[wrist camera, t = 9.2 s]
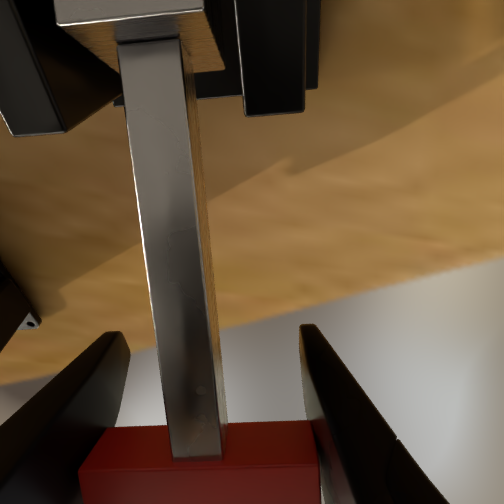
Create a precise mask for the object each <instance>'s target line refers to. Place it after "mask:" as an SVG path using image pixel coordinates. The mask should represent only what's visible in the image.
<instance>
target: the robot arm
mask: <svg viewBox="0 0 504 504" xmlns="http://www.w3.org/2000/svg"><path fill="white" fill-rule="evenodd" d="M41 323H42V320H41V318H40V317H39V315H38V314H37V312H36V311H35V309H34V308H33V307H32V305H31V304H30V302H29V301H28V299H27V298H26V297H25V295H24V294H23V292H22V291H21V289H20V288H19V287H18V285H17V284H16V282H15V281H14V279H13V278H12V277H11V275H10V274H9V272H8V271H7V269H6V268H5V267H4V265H3V264H2V262H1V261H0V353H1V351H2V350H3V348H4V347H5V346H6V344H7V343H8V342H9V340H10V339H11V337H12V336H13V335H14V333H15V332H16V331H17V330H25V329H37V328H38V327H39V326H40V324H41ZM299 353H300V363H301V374H302V385H303V396H304V404H305V411H306V416H307V420H309V421H310V423H311V426H312V429H313V433H314V437H315V442H316V447H317V453H318V458H319V463H320V480H321V486H322V491H323V496H324V501H325V504H450V503H449V502H448V501H447V500H446V499H445V498H444V496H443V495H442V494H441V493H440V492H439V490H438V489H437V488H436V487H435V486H434V485H433V483H432V482H431V481H430V480H429V478H428V477H427V476H426V474H425V473H424V472H423V471H422V469H421V468H420V467H419V465H418V464H417V463H416V461H415V460H414V459H413V458H412V456H411V455H410V453H409V452H408V451H407V449H406V448H405V447H404V445H403V444H402V442H401V441H400V440H399V439H397V436H396V435H395V433H394V432H393V430H392V429H391V428H390V426H389V425H388V424H387V422H386V421H385V419H384V418H383V417H382V415H381V414H380V413H379V411H378V410H377V408H376V407H375V406H374V404H373V403H372V401H371V400H370V399H369V397H368V396H367V395H366V393H365V392H364V390H363V389H362V388H361V386H360V385H359V384H358V383H357V381H356V379H355V378H354V377H353V375H352V374H351V373H350V371H349V370H348V368H347V367H346V366H345V364H344V363H343V362H342V360H341V359H340V357H339V356H338V355H337V353H336V352H335V351H334V350H333V348H332V346H331V345H330V344H329V343H328V341H327V340H326V338H325V337H324V336H323V334H322V333H321V332H320V330H319V329H318V327H317V326H316V325H315V324H301V325H300V327H299ZM129 362H130V349H129V347H128V344H127V342H126V340H125V338H124V335H123V333H122V332H120V331H108V332H105V333H104V334H102V335H101V336H100V337H99V338H98V339H97V340H96V341H95V342H93V343H92V344H91V345H90V346H89V347H88V348H87V349H86V350H84V351H83V352H82V353H81V354H80V355H79V356H78V357H77V358H76V359H74V360H73V361H72V362H71V363H70V364H69V365H68V366H67V367H66V368H64V369H63V370H62V371H61V372H60V373H59V374H58V375H57V376H55V377H54V378H53V379H52V380H51V381H50V382H49V383H48V384H47V385H45V386H44V387H43V388H42V389H41V390H40V391H39V392H38V393H37V394H36V395H34V396H33V397H32V398H31V399H30V400H29V401H28V402H27V403H25V404H24V405H23V406H22V407H21V408H20V409H19V410H18V411H17V412H15V413H14V414H13V415H12V416H11V417H10V418H9V419H8V420H6V421H5V422H4V423H3V424H2V425H1V426H0V504H84V503H83V498H82V493H81V488H80V483H79V478H78V469H79V468H80V466H81V465H82V463H83V462H84V460H85V459H86V458H87V456H88V455H89V453H90V452H91V450H92V449H93V447H94V446H95V444H96V443H97V441H98V440H99V438H100V437H101V435H102V434H103V432H104V431H105V430H106V429H107V428H108V427H115V424H116V420H117V417H118V413H119V410H120V405H121V401H122V395H123V391H124V386H125V381H126V377H127V372H128V367H129ZM396 439H397V440H396Z"/></svg>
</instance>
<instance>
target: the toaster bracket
mask: <svg viewBox="0 0 504 504" xmlns="http://www.w3.org/2000/svg"><path fill="white" fill-rule="evenodd" d="M220 4H221V16H222V29H223V41H224V53H225V66H226V67H225V69H224V70H217V71H207V72H196V73H194V79H195V89H196V100H201V99H212V98H223V97H234V96H242V97H243V108H244V115H245V117H248V118H249V117H260V116H272V115H283V114H295V113H302V112H304V110H305V90H311V89H317V88H318V70H319V40H320V10H321V0H220ZM111 102H113V105H114V107H124V102H123V95H122V88H121V80H120V75H119V74H118V73H117V72H116V71H114V70H113V69H112V68H111V67H109V66H108V65H107V64H105V63H104V62H103V61H102V60H100V59H99V58H98V57H97V56H95V55H94V54H93V53H92V52H90V51H89V50H88V49H86V48H85V47H84V46H83V45H81V44H80V43H79V42H78V41H76V40H75V39H74V38H73V37H71V36H70V35H69V34H67V33H66V32H65V31H64V30H62V29H61V28H60V27H59V26H58V25H57V23H56V21H55V15H54V9H53V2H52V0H0V114H1V116H2V118H3V120H4V122H5V124H6V126H7V128H8V130H9V132H10V133H11V135H12V136H13V137H28V136H40V135H51V134H63V133H67V132H68V131H70V130H71V129H73V128H74V127H76V126H77V125H78V124H80V123H81V122H83V121H84V120H86V119H87V118H89V117H90V116H92V115H93V114H94V113H96V112H97V111H99V110H100V109H102V108H103V107H105V106H106V105H108V104H109V103H111Z"/></svg>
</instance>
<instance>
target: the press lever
mask: <svg viewBox="0 0 504 504" xmlns="http://www.w3.org/2000/svg"><path fill="white" fill-rule="evenodd" d="M52 2H53V9H54V15H55V21H56V23H57V25H58V26H59V27H60V28H61V29H62V30H64V31H65V32H66V33H67V34H69V35H70V36H71V37H73V38H74V39H75V40H76V41H78V42H79V43H80V44H81V45H83V46H84V47H85V48H86V49H88V50H89V51H90V52H92V53H93V54H94V55H95V56H97V57H98V58H99V59H100V60H102V61H103V62H104V63H105V64H107V65H108V66H109V67H111V68H112V69H113V70H114V71H116V72H117V73H118V74H119V75H120V80H121V88H122V95H123V102H124V110H125V117H126V124H127V132H128V139H129V147H130V154H131V161H132V169H133V176H134V184H135V191H136V198H137V206H138V213H139V220H140V228H141V235H142V243H143V250H144V257H145V265H146V272H147V279H148V287H149V294H150V302H151V309H152V316H153V324H154V331H155V339H156V346H157V352H158V361H159V368H160V375H161V383H162V390H163V398H164V405H165V412H166V419H167V425H158V426H129V427H108V428H107V429H106V430H105V431H104V432H103V434H102V435H101V437H100V438H99V440H98V441H97V443H96V444H95V446H94V447H93V449H92V450H91V452H90V453H89V455H88V456H87V458H86V459H85V460H84V462H83V463H82V465H81V466H80V468H79V469H78V478H79V483H80V488H81V493H82V498H83V503H84V504H321V480H320V463H319V458H318V453H317V447H316V442H315V437H314V433H313V429H312V426H311V423H310V421H309V420H298V421H271V422H270V421H269V422H243V423H228V419H227V408H226V398H225V388H224V377H223V367H222V356H221V347H220V336H219V325H218V315H217V305H216V295H215V284H214V274H213V264H212V254H211V243H210V233H209V223H208V212H207V202H206V192H205V182H204V171H203V161H202V151H201V141H200V130H199V120H198V110H197V100H196V89H195V79H194V73H196V72H207V71H217V70H224V69H225V67H226V66H225V53H224V41H223V29H222V16H221V4H220V0H52Z"/></svg>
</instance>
